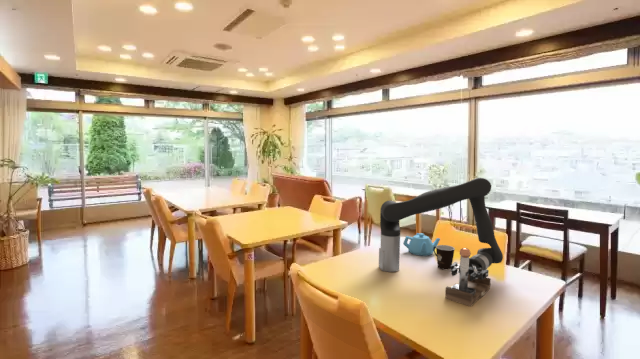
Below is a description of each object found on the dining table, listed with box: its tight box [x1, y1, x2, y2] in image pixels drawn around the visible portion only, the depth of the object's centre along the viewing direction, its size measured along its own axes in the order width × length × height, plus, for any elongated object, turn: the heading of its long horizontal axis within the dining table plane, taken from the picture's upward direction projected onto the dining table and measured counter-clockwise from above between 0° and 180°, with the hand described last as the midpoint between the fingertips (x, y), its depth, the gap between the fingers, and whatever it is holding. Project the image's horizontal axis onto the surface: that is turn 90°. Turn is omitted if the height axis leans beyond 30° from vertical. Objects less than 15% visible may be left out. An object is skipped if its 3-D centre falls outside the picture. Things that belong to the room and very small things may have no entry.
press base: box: [444, 274, 492, 307], centre depth 145 cm, size 22×10×4 cm, turn 137°
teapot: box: [402, 232, 441, 257], centre depth 198 cm, size 15×15×11 cm
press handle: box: [450, 247, 476, 296], centre depth 140 cm, size 5×8×18 cm, turn 47°
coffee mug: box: [433, 244, 456, 271], centre depth 176 cm, size 12×9×10 cm
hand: (461, 275), depth 138 cm, fingers open, 6 cm apart
